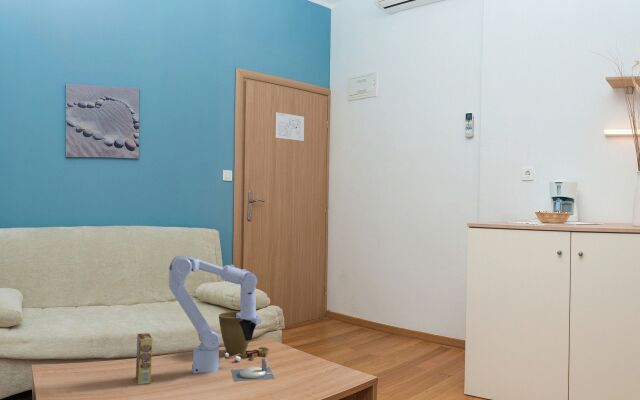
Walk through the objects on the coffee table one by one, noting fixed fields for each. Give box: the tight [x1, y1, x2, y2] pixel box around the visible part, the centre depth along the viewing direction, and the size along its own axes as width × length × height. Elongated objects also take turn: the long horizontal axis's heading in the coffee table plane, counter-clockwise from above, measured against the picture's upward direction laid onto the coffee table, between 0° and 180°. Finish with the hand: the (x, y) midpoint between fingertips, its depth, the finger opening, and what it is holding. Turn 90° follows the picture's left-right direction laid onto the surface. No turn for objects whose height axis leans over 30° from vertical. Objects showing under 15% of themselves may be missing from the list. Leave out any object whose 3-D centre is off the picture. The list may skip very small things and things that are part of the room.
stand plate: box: [231, 367, 276, 383], centre depth 178 cm, size 14×13×1 cm
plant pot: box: [218, 310, 250, 356], centre depth 209 cm, size 15×15×16 cm
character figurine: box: [224, 346, 269, 363], centre depth 201 cm, size 10×18×4 cm, turn 131°
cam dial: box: [240, 357, 268, 378], centre depth 178 cm, size 9×9×5 cm
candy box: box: [135, 332, 154, 385], centre depth 174 cm, size 9×4×15 cm, turn 26°
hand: (248, 340), depth 189 cm, fingers closed
